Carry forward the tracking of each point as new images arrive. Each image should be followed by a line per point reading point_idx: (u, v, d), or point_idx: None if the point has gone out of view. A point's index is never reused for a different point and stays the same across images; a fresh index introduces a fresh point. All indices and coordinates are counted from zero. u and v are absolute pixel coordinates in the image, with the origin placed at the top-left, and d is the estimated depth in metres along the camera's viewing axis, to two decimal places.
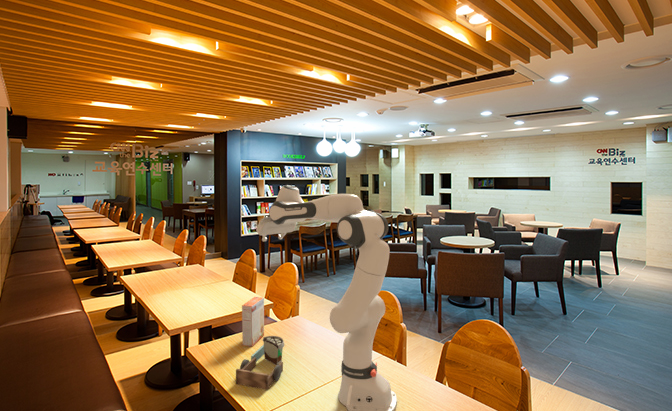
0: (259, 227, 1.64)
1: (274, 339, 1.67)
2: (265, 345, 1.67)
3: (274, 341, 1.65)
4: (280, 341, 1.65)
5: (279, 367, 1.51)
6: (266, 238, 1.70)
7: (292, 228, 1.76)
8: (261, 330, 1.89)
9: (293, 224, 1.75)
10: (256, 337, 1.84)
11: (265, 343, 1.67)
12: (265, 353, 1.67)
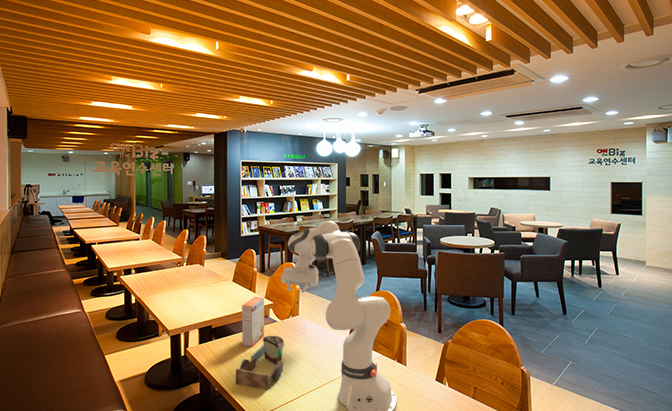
0: None
1: (274, 339, 1.67)
2: (265, 345, 1.67)
3: (274, 341, 1.65)
4: (280, 341, 1.65)
5: (279, 367, 1.51)
6: (290, 287, 1.89)
7: (313, 278, 1.88)
8: (261, 330, 1.89)
9: (313, 274, 1.90)
10: (256, 337, 1.84)
11: (265, 343, 1.67)
12: (265, 353, 1.67)
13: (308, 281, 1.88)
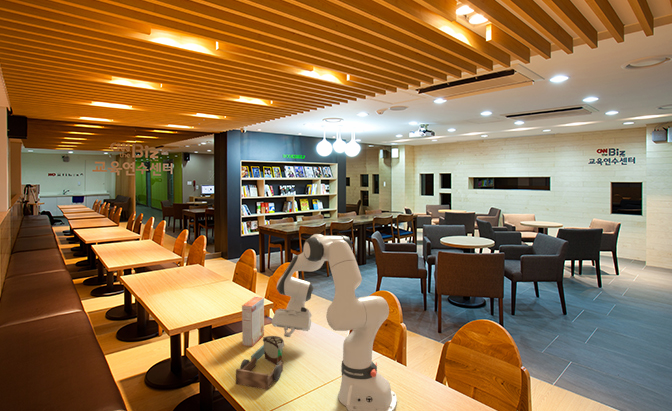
0: None
1: (274, 339, 1.67)
2: (265, 345, 1.67)
3: (274, 341, 1.65)
4: (280, 341, 1.65)
5: (279, 367, 1.51)
6: None
7: (305, 323, 1.79)
8: (261, 330, 1.89)
9: (306, 318, 1.80)
10: (256, 337, 1.84)
11: (265, 343, 1.67)
12: (265, 353, 1.67)
13: (300, 326, 1.78)
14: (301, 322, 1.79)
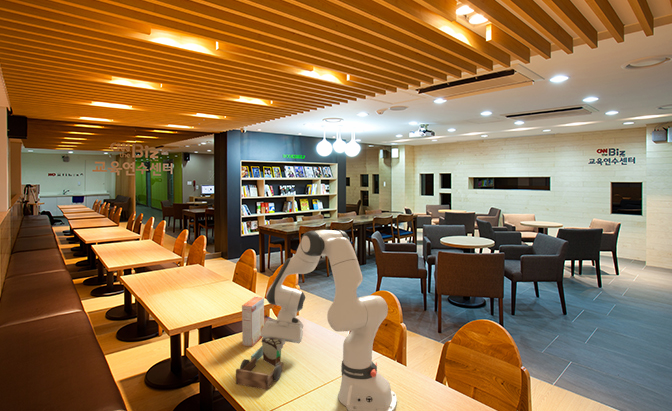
0: None
1: (273, 340, 1.66)
2: (263, 346, 1.66)
3: (273, 342, 1.64)
4: (279, 342, 1.64)
5: (279, 367, 1.51)
6: None
7: (296, 335, 1.68)
8: (261, 330, 1.89)
9: (297, 329, 1.69)
10: (256, 337, 1.84)
11: (264, 344, 1.66)
12: (264, 354, 1.66)
13: (291, 338, 1.67)
14: (292, 334, 1.69)
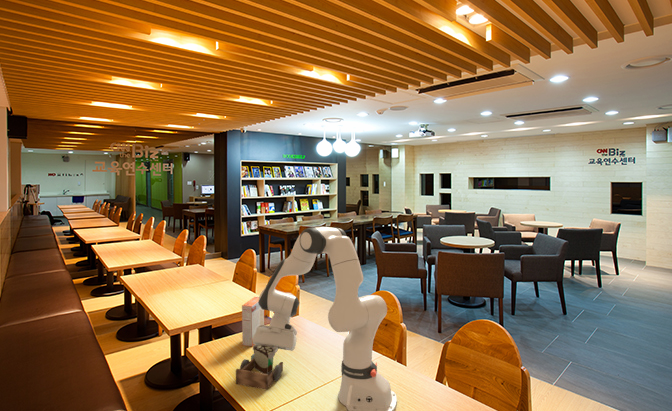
0: None
1: (264, 347, 1.59)
2: (255, 354, 1.58)
3: (264, 350, 1.56)
4: (271, 350, 1.57)
5: (279, 367, 1.51)
6: None
7: (290, 342, 1.60)
8: None
9: (290, 336, 1.62)
10: None
11: (255, 352, 1.58)
12: (255, 362, 1.58)
13: (284, 345, 1.60)
14: (285, 341, 1.61)
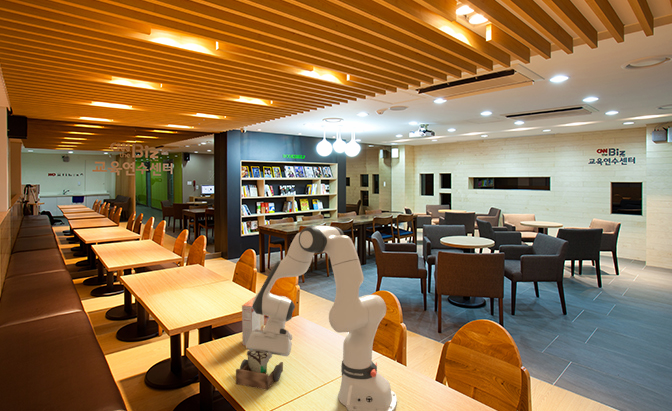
0: None
1: (259, 353, 1.53)
2: (249, 360, 1.53)
3: (258, 356, 1.51)
4: (264, 356, 1.51)
5: (279, 367, 1.51)
6: None
7: (284, 347, 1.55)
8: None
9: (285, 341, 1.56)
10: None
11: (249, 357, 1.53)
12: (249, 368, 1.53)
13: (278, 351, 1.54)
14: (280, 346, 1.56)
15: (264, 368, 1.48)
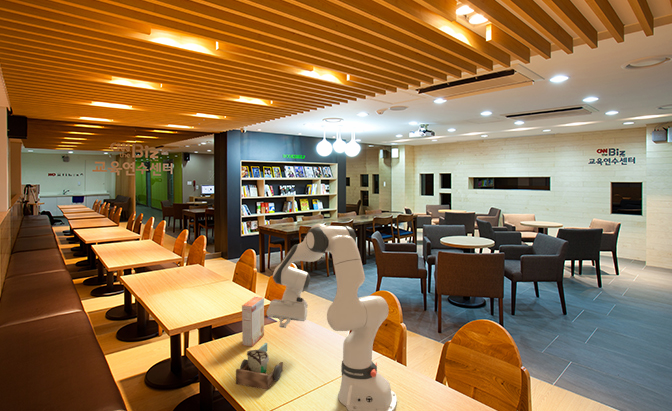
0: None
1: (259, 354, 1.53)
2: (249, 360, 1.53)
3: (258, 356, 1.51)
4: (265, 356, 1.51)
5: (279, 367, 1.51)
6: (282, 323, 1.73)
7: (301, 313, 1.73)
8: (261, 330, 1.89)
9: (302, 308, 1.75)
10: (256, 337, 1.84)
11: (249, 358, 1.53)
12: (249, 368, 1.53)
13: (296, 316, 1.73)
14: (297, 312, 1.74)
15: (264, 368, 1.48)
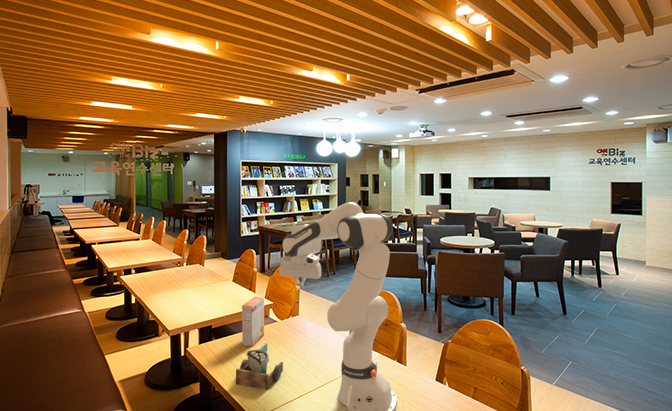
0: None
1: (259, 354, 1.53)
2: (249, 360, 1.53)
3: (258, 356, 1.51)
4: (264, 356, 1.51)
5: (279, 367, 1.51)
6: (299, 282, 1.70)
7: (315, 273, 1.66)
8: (261, 330, 1.89)
9: (314, 268, 1.66)
10: (256, 337, 1.84)
11: (249, 358, 1.53)
12: (249, 368, 1.53)
13: (310, 277, 1.67)
14: (311, 273, 1.67)
15: (264, 368, 1.48)
